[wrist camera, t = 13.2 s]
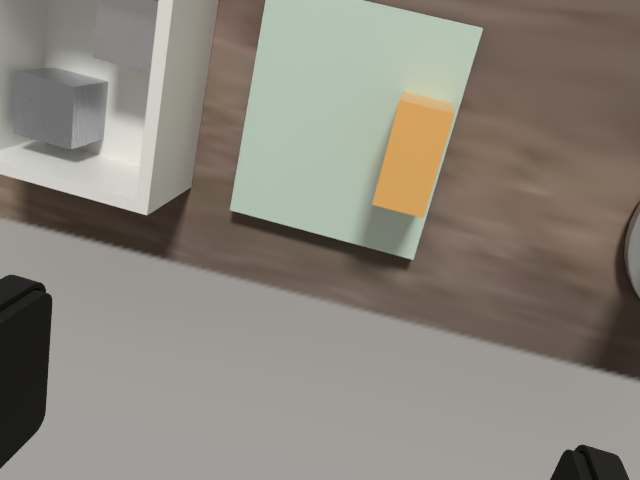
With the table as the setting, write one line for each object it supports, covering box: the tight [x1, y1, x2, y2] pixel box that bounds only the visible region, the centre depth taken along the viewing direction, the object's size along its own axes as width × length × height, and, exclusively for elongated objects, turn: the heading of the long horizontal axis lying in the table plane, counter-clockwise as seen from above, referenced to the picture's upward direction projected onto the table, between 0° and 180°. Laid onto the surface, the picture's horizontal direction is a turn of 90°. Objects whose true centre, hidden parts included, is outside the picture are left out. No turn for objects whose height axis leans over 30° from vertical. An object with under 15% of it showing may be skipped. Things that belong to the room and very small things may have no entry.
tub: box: [0, 0, 219, 215], centre depth 37 cm, size 12×14×7 cm
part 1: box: [14, 67, 108, 150], centre depth 39 cm, size 4×4×4 cm
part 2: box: [93, 0, 159, 72], centre depth 36 cm, size 4×4×4 cm
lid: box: [230, 0, 483, 260], centre depth 36 cm, size 13×15×7 cm
